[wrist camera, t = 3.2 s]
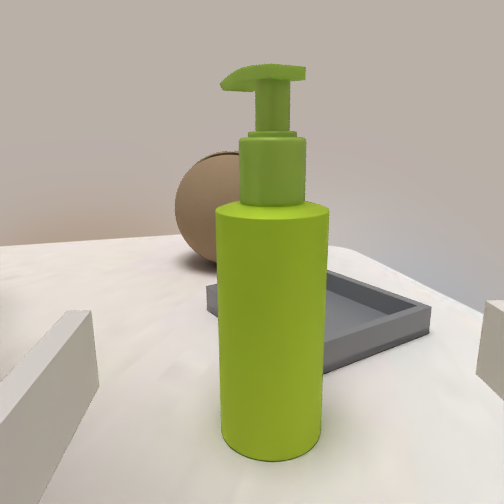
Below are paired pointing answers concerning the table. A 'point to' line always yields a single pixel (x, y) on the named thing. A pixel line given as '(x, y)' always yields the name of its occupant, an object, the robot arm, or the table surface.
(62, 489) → the table surface
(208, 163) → the tan ball
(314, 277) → the soap dispenser
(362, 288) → the tray
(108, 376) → the table surface
